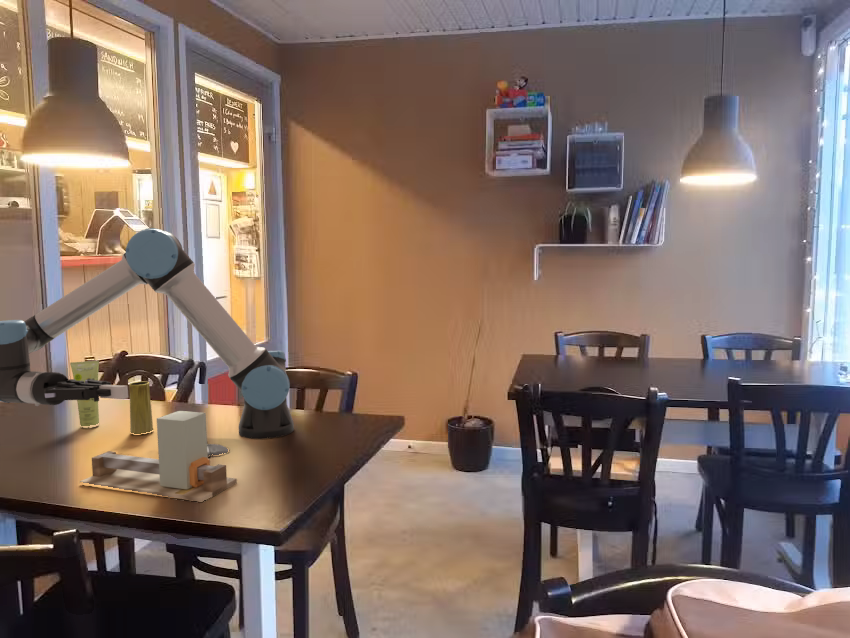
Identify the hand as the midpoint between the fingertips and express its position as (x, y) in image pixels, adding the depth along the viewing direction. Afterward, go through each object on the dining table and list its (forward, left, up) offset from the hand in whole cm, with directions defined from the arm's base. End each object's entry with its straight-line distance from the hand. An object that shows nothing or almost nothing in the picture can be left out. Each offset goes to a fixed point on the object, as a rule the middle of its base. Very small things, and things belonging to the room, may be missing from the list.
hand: (125, 392), depth 145 cm
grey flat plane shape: (-13, -16, -21) cm, 29 cm away
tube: (+20, -52, -20) cm, 59 cm away
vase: (+4, -41, -20) cm, 46 cm away
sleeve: (-13, +9, -19) cm, 24 cm away
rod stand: (-6, +4, -20) cm, 22 cm away
